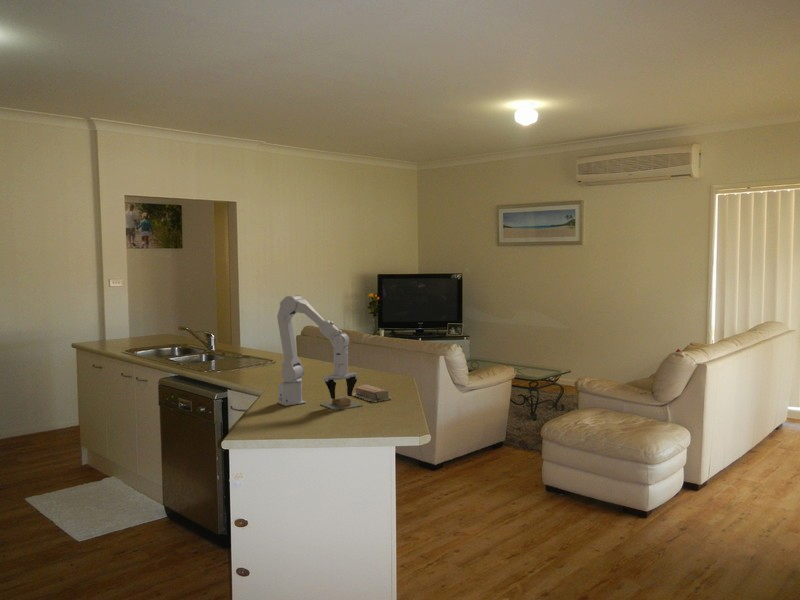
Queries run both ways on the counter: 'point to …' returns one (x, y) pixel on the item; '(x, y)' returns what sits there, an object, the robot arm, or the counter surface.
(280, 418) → the counter surface
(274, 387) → the counter surface
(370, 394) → the packaged product
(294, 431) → the counter surface
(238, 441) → the counter surface
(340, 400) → the walnut block
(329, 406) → the slate mat
